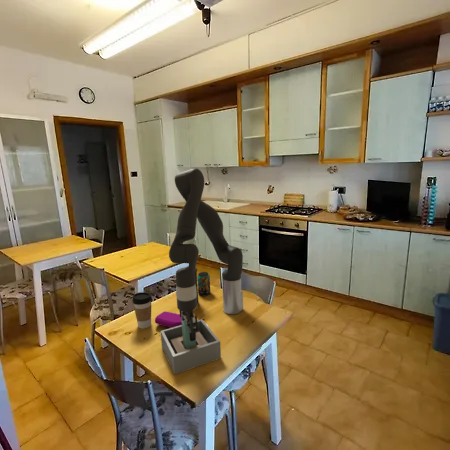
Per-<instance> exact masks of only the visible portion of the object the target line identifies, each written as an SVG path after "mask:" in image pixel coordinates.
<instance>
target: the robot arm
mask: <svg viewBox="0 0 450 450" xmlns="http://www.w3.org/2000/svg"><path fill="white" fill-rule="evenodd" d="M174 184H175V187H176V189H177V190H178V193H180V195H181V196H182V198H183V200H184V201H185V204H184V205H183V207H182V209H181V210H180V212H179V215H178V219H177V225H176V233H175V236H174V238H173V241H172V243H171V246H170V248H169V252H168V258H169V260H170V261H171V262H172V263H173V264H188V265H187V266H184V267H181V268H178V269H177V270H176V271H175V281H176V282H175V283H176V284H175V285H176V289H175V292H176V293H175V294H176V306H177V309H178V311H179V314H180V317H181V320H182V321H183V320H185V321H186V326H187V327H188V328H189V334H190V341H194V340H196V332H198V324H197V320H198V317H197V316H196V315H195V312H194V310H196V308H197V307H198V305H197V291H196V284H195V268H197V267H196V266H197V262H198V259H199V253H200V252H199V248H198V246H197V244H194V243H185V242H188V241H191V240H194V238H195V237H196V231H197V230H196V229H197V221H198V222H199V224H200V226H201V228H202V230H203V231H204V233H205V234H206V236H207V238H208V239H209V241H210V242H211V245H212V246H213V248H214V251H215V253H216V255H217V258H218V260H219V261H220V262H221V263H222V264H225V265H227V269H226V270H224V271H223V272H222V273H221V275H222V276H221V278H222V279H221V280H222V308H223V312H224V313H225V314H228V315H236V314H239V313H241V312H242V311H244V293H243V291H242V273H243V263H244V260H243V259H244V258H243V257H244V256H243V252H242V249H241V248H240V247H237V246H233V245H230V244H229V243H228V241H227V239H226V237H225V236H224V223H223V220H222V219H221V217H220V215H219V213H218V211H217V210H216V209H215V208H214V207H213V206H211V205H210V204H208V203H206V202H205V201H203V200H202V196H203V192H204V189H205V177H204V174H203V172H202V171H201V170H200V169H198V168H197V167H196V168H190V169H188V170H185V171H182V172H179V173H177V174H176V175H175V176H174ZM188 322H190V324H189V323H188ZM193 327H194V328H193Z"/></svg>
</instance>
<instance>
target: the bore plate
mask: <svg viewBox="0 0 450 450" xmlns="http://www.w3.org/2000/svg"><path fill="white" fill-rule="evenodd" d="M170 341H171V347H172V349H173V351H174V353H175V354H178V353H181V352H184V351H187V350H190V349H193V348H196V347H199V346H202V345H205V344H208V343H207V342H206V340H205V339H204V338H203V336H202V335H201V334H200V332H199V331H198V332H196V346H193V347H190V348H187V349H185V348H184V346H183V336H180V337H177V338H173V339H170Z"/></svg>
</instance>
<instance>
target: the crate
mask: <svg viewBox="0 0 450 450" xmlns="http://www.w3.org/2000/svg"><path fill="white" fill-rule="evenodd" d="M197 324H198V331H199V332H200V334H201V335H202V336H203V338H204V339H205V340H206V342H207V343H208V344H205V345H202V346H199V347H196V348H193V349H190V350H187V351H184V352H181V353H178V354H175V353H174V351H173V349H172V347H171V341H170V339H173V338H177V337H180V336H183V334H182V325H180V326H176V327H173V328H170V327H168V328H167V329H163V330H160V340H161V347H162V350H163V352H164V355H165V356H166V357H165V358H166V359H167V360H168V363H169V365H170V368H171V370H172V372H173V374H174V375H177V374H178V375H179V374H181V373H182V372H186V371H188V370H191V369H194V368H197V367H200V366H202V365H205V364H208V363H210V362H213V361H216V360H219V359H222V353H221V351H222V350H221V340H220V339H219V338H218V336H217V335H216V334H215V333H214V332H213V330H212V329H211V328H210V327H208V326H209V325H208V326H207V325H206V324H207V323H206V322H205V321H204V319H203V318H201V319H197Z"/></svg>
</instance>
